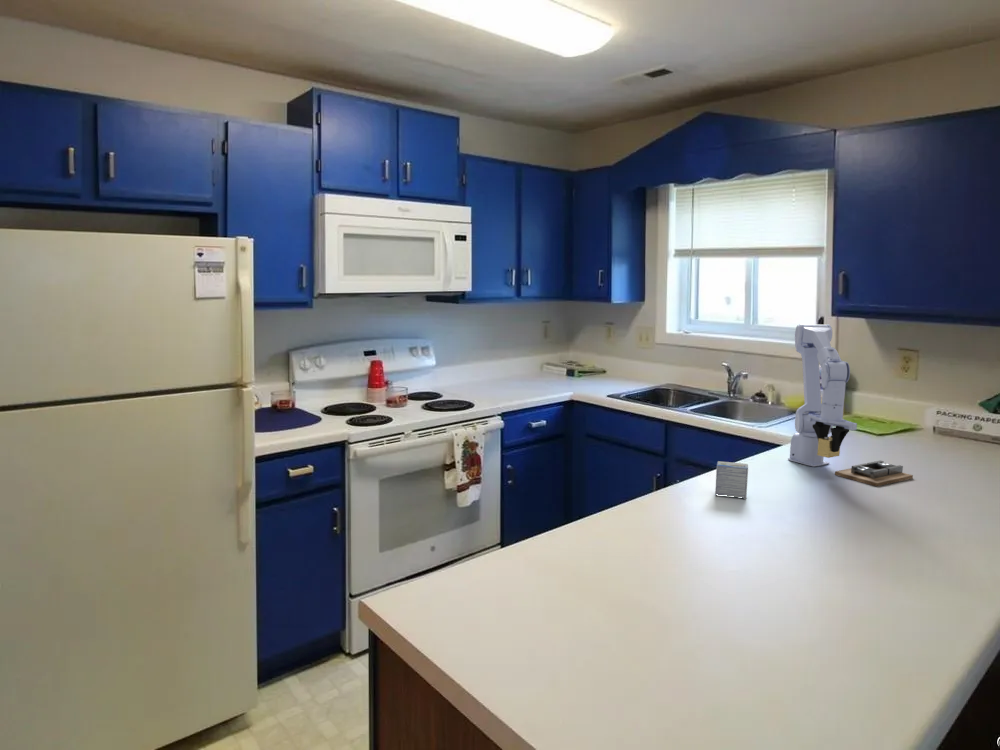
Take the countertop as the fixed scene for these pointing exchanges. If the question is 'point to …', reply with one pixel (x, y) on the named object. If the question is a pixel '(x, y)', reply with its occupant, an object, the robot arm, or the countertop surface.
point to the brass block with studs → (826, 447)
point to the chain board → (876, 481)
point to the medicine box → (731, 479)
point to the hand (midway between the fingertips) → (828, 449)
